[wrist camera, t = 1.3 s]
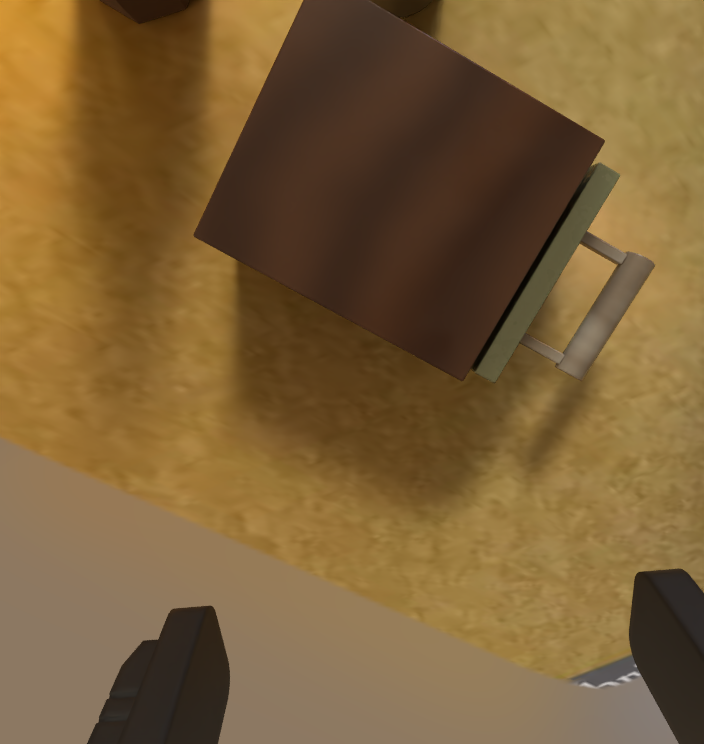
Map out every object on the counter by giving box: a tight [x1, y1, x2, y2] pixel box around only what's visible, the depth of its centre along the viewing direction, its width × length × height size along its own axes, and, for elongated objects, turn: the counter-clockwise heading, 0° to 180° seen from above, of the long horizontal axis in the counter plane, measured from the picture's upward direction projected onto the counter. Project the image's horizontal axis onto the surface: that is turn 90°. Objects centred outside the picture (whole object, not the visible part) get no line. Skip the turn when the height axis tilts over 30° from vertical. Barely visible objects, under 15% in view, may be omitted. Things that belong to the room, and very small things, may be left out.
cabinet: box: [194, 0, 605, 381], centre depth 30 cm, size 15×13×10 cm
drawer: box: [471, 163, 655, 383], centre depth 31 cm, size 18×11×8 cm, turn 62°
